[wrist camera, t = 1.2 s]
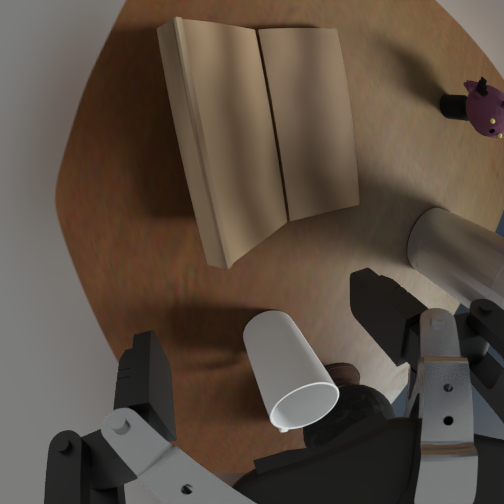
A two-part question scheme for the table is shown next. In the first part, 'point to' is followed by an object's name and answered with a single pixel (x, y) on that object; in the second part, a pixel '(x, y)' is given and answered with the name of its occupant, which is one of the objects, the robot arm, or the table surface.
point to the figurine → (477, 108)
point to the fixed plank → (310, 119)
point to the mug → (288, 372)
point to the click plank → (223, 134)
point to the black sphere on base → (346, 406)
